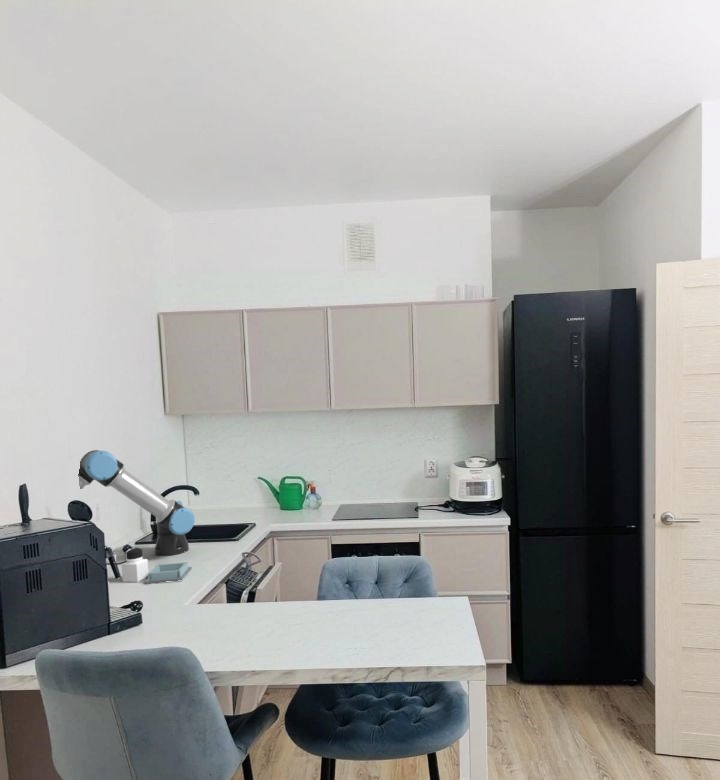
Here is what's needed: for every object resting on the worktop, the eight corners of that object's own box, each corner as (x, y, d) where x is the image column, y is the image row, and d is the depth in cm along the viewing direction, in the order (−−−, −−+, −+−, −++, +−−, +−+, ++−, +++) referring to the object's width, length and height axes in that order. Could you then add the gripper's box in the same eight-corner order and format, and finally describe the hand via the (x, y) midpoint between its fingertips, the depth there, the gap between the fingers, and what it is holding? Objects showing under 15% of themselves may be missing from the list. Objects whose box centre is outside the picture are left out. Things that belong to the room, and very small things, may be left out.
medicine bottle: (149, 576, 237) (147, 546, 237) (137, 582, 230) (135, 551, 230) (133, 576, 239) (132, 546, 239) (122, 582, 232) (120, 551, 232)
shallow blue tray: (157, 572, 242) (156, 563, 242) (191, 569, 243) (191, 560, 243) (144, 584, 226) (144, 575, 226) (181, 581, 227) (181, 572, 227)
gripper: (69, 568, 245) (121, 564, 246) (39, 586, 220) (97, 582, 221) (68, 549, 245) (120, 545, 246) (38, 566, 220) (96, 562, 221)
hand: (109, 563), depth 234 cm, fingers open, 13 cm apart
